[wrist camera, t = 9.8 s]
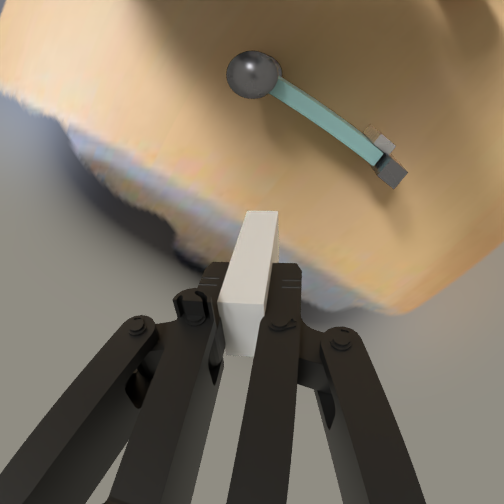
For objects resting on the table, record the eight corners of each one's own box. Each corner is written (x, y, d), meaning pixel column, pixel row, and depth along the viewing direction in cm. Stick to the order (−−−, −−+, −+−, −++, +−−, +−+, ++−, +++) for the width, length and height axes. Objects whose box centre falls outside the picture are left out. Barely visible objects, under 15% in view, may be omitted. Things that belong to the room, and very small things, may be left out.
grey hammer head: (234, 79, 29) (217, 83, 23) (254, 47, 27) (243, 42, 21) (268, 99, 29) (260, 108, 24) (289, 68, 27) (287, 67, 21)
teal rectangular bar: (239, 78, 28) (229, 80, 24) (255, 53, 26) (248, 51, 22) (358, 157, 31) (368, 172, 26) (376, 135, 29) (388, 147, 25)
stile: (352, 145, 31) (364, 166, 25) (369, 123, 29) (387, 138, 23) (376, 165, 31) (393, 189, 26) (394, 143, 30) (415, 163, 24)
